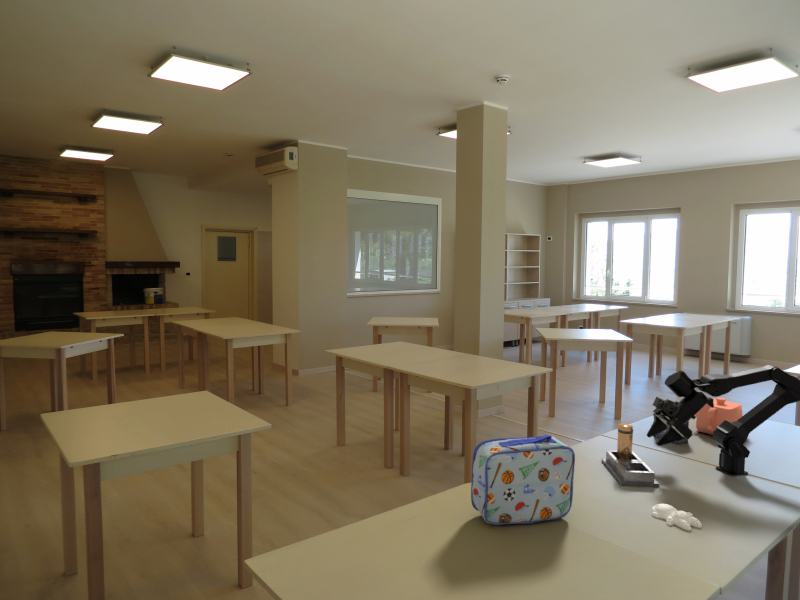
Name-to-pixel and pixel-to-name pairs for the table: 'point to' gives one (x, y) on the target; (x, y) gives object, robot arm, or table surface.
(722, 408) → the teapot
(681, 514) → the astronaut figurine
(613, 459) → the grey two-compartment tray
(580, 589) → the table surface
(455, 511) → the table surface
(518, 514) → the lunch box
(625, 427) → the copper tube
